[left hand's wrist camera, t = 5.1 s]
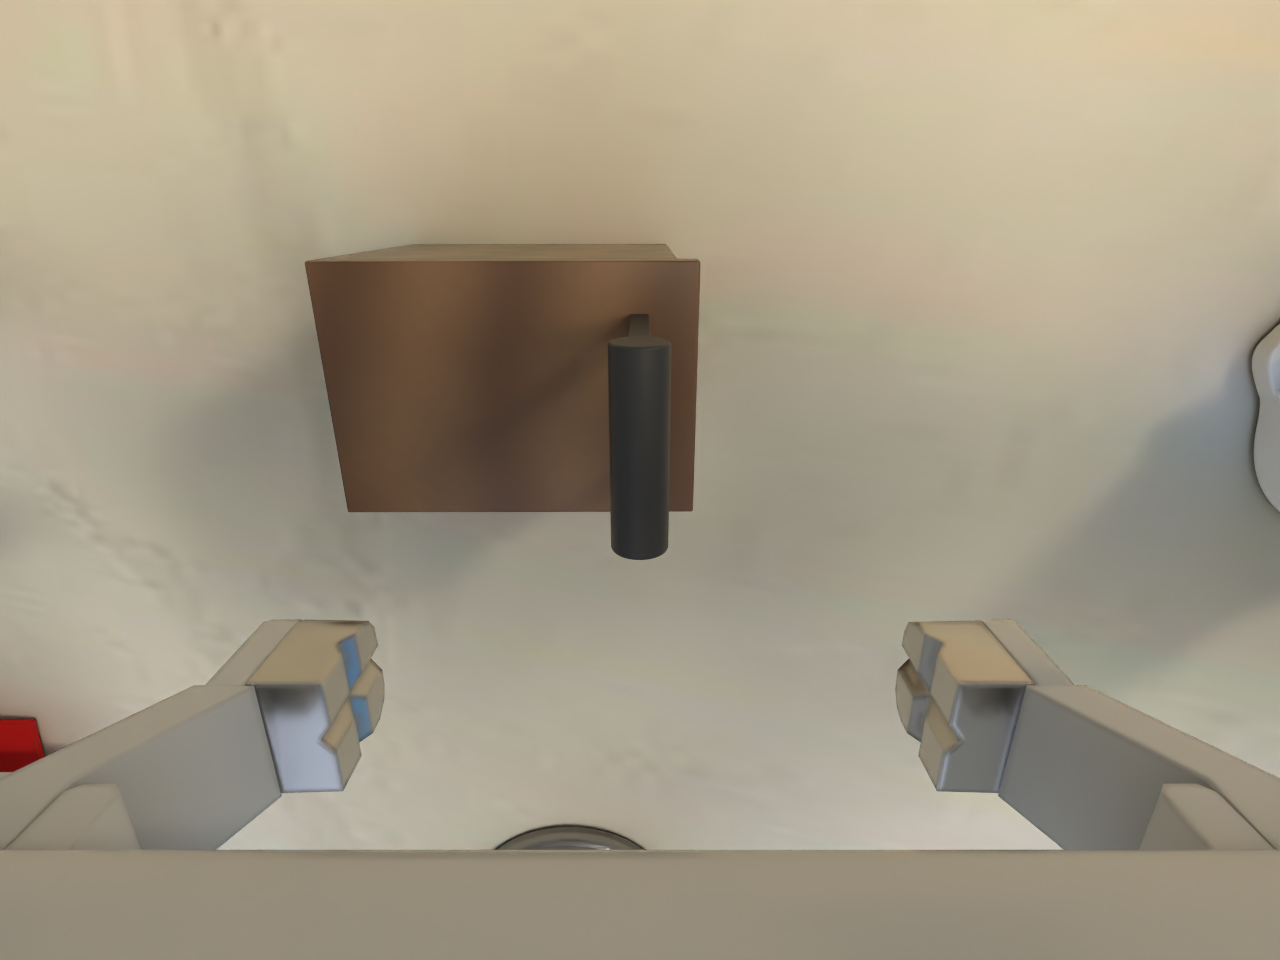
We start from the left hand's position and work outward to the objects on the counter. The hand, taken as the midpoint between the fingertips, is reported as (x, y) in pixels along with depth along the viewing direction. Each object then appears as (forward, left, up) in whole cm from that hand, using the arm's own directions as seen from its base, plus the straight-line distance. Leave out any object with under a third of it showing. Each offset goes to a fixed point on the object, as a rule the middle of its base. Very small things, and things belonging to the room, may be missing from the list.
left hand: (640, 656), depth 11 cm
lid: (+2, -4, -17) cm, 18 cm away
